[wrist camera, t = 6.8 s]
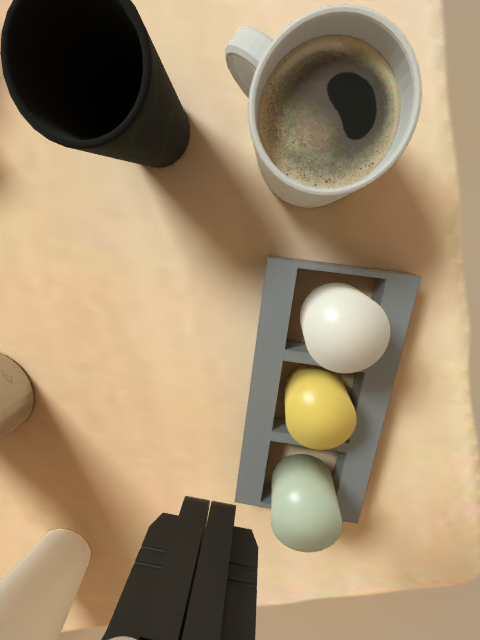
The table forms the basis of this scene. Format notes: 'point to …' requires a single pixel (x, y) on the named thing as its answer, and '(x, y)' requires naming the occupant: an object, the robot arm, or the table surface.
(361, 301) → the offwhite button
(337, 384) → the mustard button
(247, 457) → the grey compartment tray
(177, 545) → the robot arm
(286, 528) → the sage button
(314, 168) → the mug
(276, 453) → the table surface
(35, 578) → the foam cup
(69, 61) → the cup
